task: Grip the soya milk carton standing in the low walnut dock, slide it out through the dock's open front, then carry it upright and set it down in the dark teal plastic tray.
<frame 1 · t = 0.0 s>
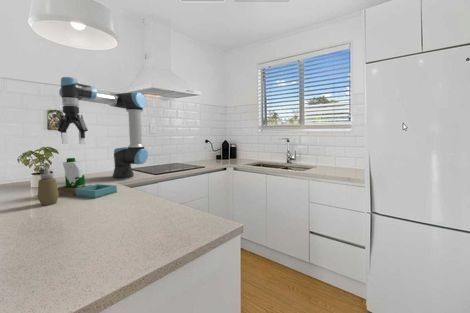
hand: (73, 144, 134), 28 cm above the counter, tool pointing down, fingers open, 13 cm apart
tray: (97, 194, 132), on the counter
soya milk: (76, 193, 136), resting in dock
squeeze bottle: (49, 204, 115), on the counter
dock: (76, 192, 136), on the counter
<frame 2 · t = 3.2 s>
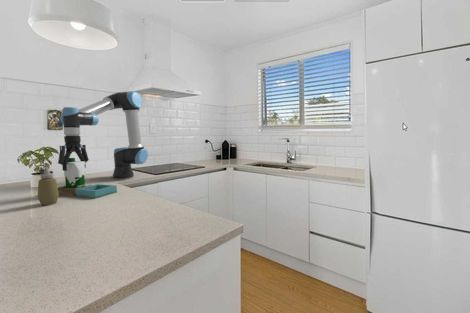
hand: (75, 174, 135), 10 cm above the counter, tool pointing down, fingers closed on soya milk, 9 cm apart
soya milk: (76, 193, 136), resting in dock, touching gripper
everything else where it was.
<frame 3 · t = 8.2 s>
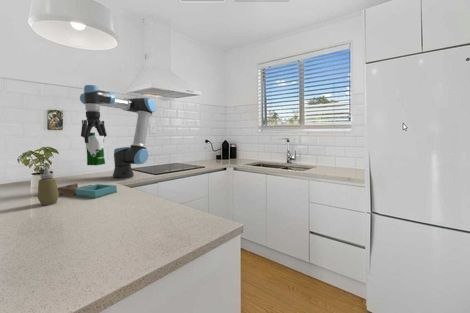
hand: (95, 148, 147), 25 cm above the counter, tool pointing down, fingers closed on soya milk, 9 cm apart
soya milk: (96, 164, 148), point 14 cm above the counter, touching gripper
everything else where it was.
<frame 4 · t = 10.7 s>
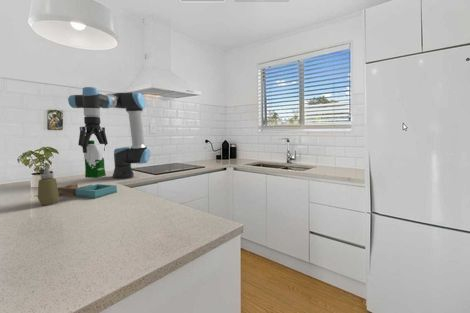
hand: (94, 158, 130), 20 cm above the counter, tool pointing down, fingers closed on soya milk, 9 cm apart
soya milk: (95, 176, 131), point 10 cm above the counter, touching gripper
everything else where it was.
when the fingers open (12 cm above the counter, at t = 13.0 s): soya milk stays where it is, resting on tray.
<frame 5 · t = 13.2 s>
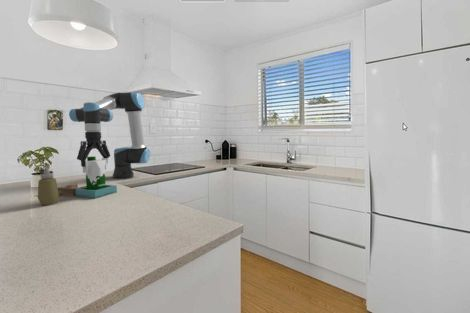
hand: (95, 171, 131), 13 cm above the counter, tool pointing down, fingers open, 11 cm apart
soya milk: (96, 192, 132), point 1 cm above the counter, touching tray
everything else where it was.
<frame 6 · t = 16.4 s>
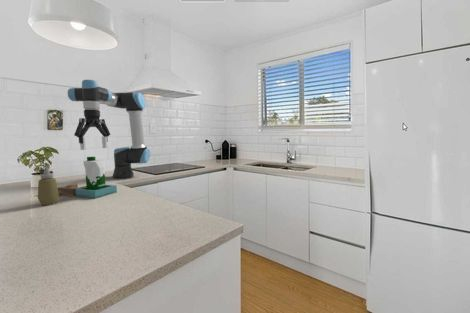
hand: (94, 148, 130), 25 cm above the counter, tool pointing down, fingers open, 13 cm apart
nothing on the counter moved.
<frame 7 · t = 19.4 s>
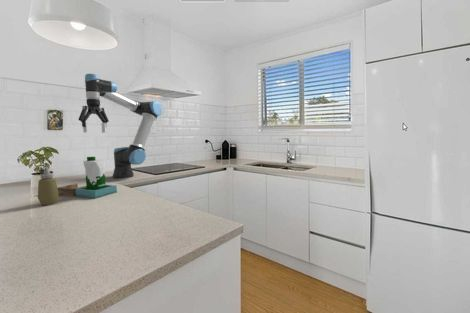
hand: (95, 132, 153), 35 cm above the counter, tool pointing down, fingers open, 13 cm apart
nothing on the counter moved.
at the end: soya milk inside the target area on the tray (0.1 cm from its centre), point 0.8 cm above the tray's base; soya milk tilted 0°; the gripper is holding nothing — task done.
